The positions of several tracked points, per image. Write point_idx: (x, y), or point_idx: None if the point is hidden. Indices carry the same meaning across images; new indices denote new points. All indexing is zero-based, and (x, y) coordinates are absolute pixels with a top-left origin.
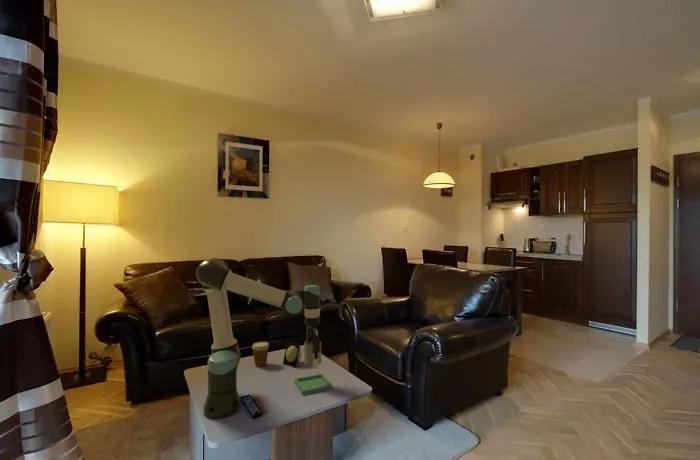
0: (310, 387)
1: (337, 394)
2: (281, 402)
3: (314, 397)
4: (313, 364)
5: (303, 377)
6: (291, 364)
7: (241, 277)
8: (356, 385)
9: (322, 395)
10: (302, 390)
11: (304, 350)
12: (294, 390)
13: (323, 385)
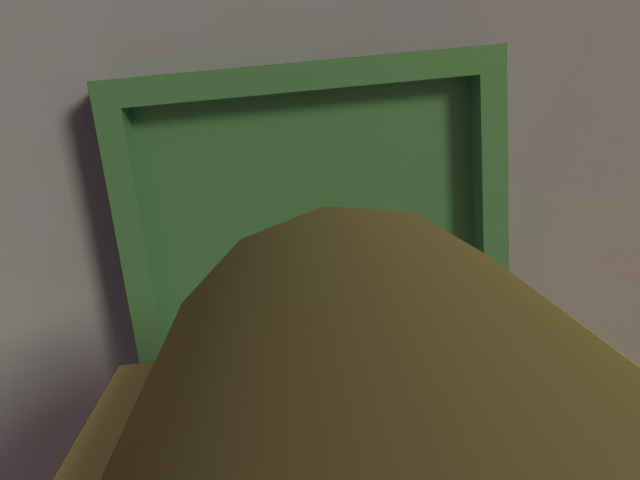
0: (239, 213)
1: (23, 454)
2: None
3: (7, 211)
4: (113, 385)
5: (489, 173)
6: None
7: None
8: None
9: (36, 305)
10: (105, 88)
11: (433, 328)
12: (255, 8)
13: None
